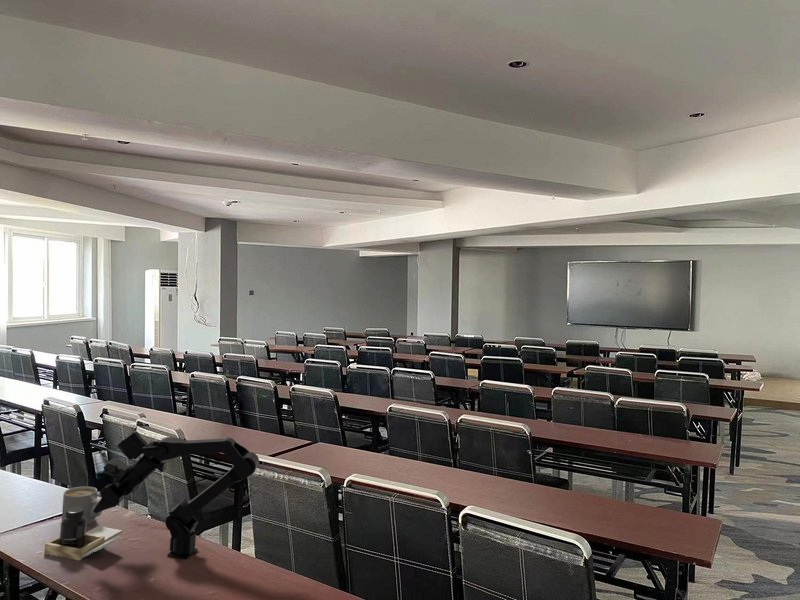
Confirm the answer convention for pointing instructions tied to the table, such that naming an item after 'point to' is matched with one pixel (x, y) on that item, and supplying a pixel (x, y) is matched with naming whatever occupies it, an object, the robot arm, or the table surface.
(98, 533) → the felt mat
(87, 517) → the coffee mug
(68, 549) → the frame
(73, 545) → the supplement bottle
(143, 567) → the table surface
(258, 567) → the table surface
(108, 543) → the frame lid
